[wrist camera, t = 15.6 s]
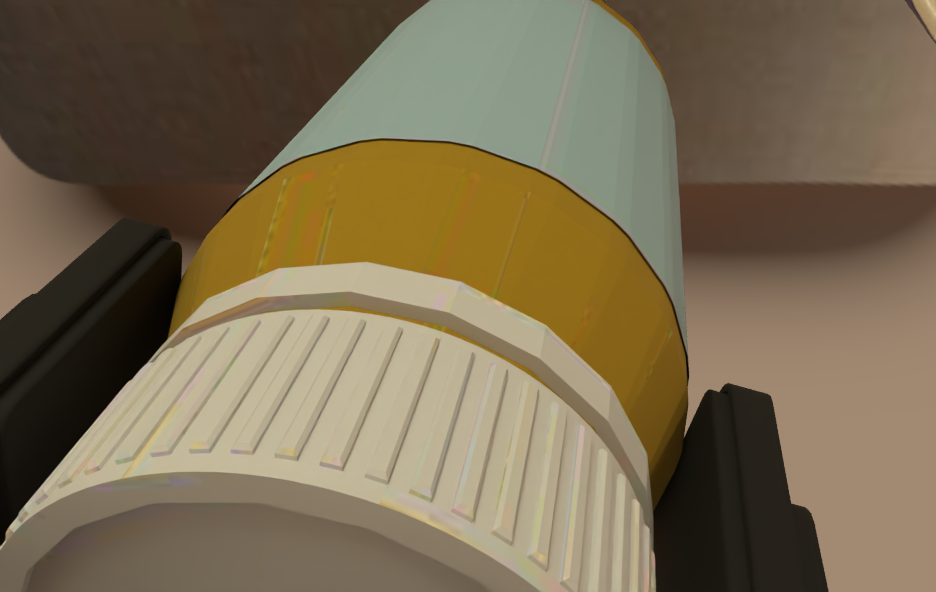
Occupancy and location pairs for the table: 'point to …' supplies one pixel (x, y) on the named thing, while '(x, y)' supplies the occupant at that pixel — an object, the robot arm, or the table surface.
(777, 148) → the table surface
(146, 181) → the table surface
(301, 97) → the table surface
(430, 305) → the bottle
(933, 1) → the planter
